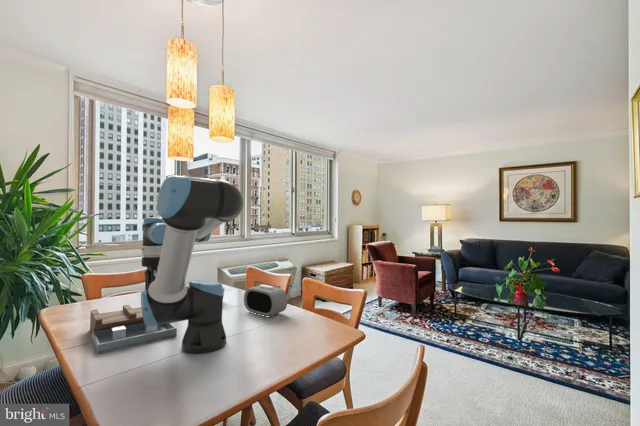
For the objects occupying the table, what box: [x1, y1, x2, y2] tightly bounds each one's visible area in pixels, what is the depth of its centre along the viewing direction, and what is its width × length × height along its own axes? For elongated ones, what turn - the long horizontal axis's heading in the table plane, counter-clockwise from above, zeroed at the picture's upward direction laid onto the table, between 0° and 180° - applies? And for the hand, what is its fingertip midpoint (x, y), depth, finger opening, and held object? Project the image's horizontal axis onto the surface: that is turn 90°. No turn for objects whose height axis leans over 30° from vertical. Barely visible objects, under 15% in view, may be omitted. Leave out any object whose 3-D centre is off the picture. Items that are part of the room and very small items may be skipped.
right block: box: [143, 324, 158, 334], centre depth 120 cm, size 4×4×4 cm
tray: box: [91, 322, 178, 354], centre depth 115 cm, size 16×25×3 cm, turn 133°
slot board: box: [89, 304, 144, 335], centre depth 124 cm, size 15×24×8 cm, turn 133°
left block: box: [111, 326, 126, 341], centre depth 112 cm, size 4×4×4 cm
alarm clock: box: [243, 284, 288, 317], centre depth 149 cm, size 21×10×13 cm, turn 56°
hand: (150, 315), depth 120 cm, fingers closed
